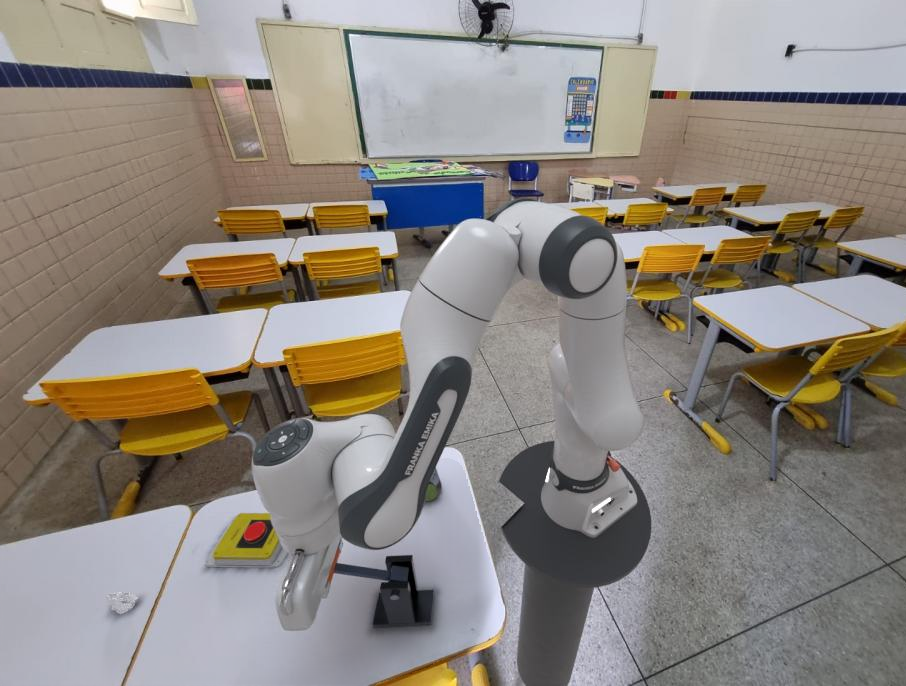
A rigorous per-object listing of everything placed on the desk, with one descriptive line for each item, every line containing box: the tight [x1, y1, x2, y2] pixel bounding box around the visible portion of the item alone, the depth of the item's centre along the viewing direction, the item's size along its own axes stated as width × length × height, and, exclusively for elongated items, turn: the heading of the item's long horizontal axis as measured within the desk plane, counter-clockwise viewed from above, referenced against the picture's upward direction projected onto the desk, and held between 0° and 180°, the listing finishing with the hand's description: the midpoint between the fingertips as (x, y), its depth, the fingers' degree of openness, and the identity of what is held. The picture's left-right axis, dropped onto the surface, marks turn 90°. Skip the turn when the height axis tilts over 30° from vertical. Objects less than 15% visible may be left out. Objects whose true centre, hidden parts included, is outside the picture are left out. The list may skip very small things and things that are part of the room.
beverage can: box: [425, 467, 442, 502], centre depth 85 cm, size 6×7×12 cm
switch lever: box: [327, 549, 409, 586], centre depth 61 cm, size 13×5×2 cm, turn 93°
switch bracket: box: [372, 554, 435, 629], centre depth 65 cm, size 10×6×13 cm, turn 93°
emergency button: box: [204, 512, 289, 569], centre depth 77 cm, size 9×4×15 cm
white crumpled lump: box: [106, 591, 139, 615], centre depth 67 cm, size 5×2×4 cm, turn 93°
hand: (330, 570), depth 61 cm, fingers closed on switch lever, 5 cm apart
